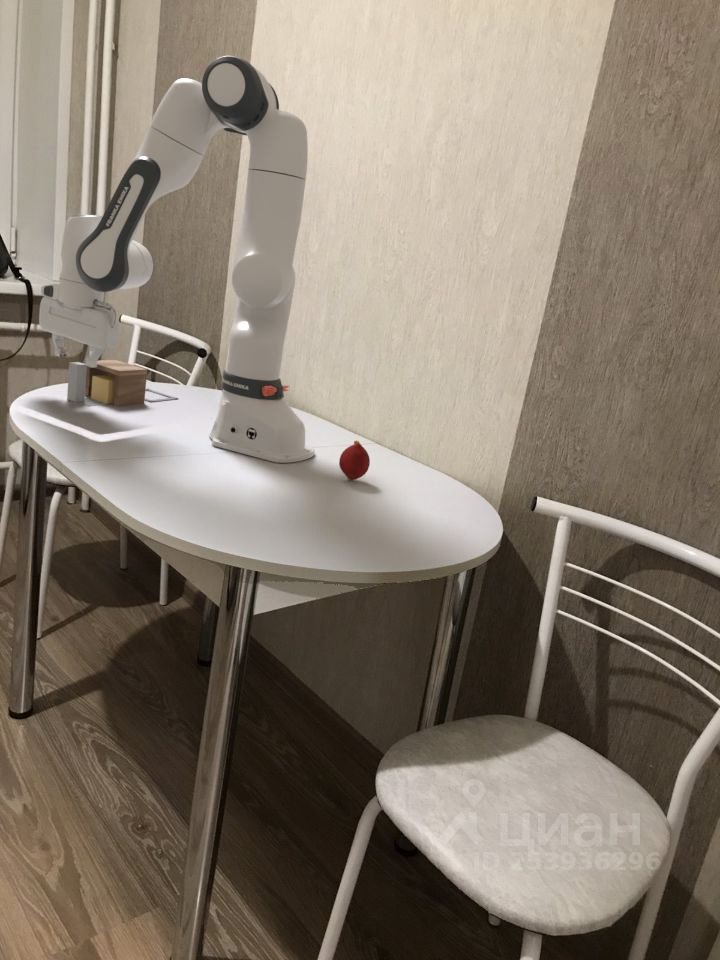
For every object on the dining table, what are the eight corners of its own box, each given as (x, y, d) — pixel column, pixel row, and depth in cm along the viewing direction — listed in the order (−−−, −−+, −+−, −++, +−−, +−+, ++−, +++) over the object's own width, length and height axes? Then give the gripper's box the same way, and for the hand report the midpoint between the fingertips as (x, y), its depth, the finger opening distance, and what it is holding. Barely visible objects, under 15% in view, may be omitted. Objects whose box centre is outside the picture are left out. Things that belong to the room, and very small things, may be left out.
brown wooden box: (143, 408, 167) (147, 369, 165) (116, 411, 161) (119, 371, 158) (112, 398, 172) (115, 359, 169) (84, 400, 165) (87, 361, 162)
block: (124, 401, 165) (126, 379, 164) (107, 403, 161) (108, 381, 159) (108, 396, 167) (110, 374, 166) (91, 398, 163) (92, 375, 162)
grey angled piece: (140, 404, 169) (144, 366, 166) (87, 411, 156) (89, 369, 153) (121, 398, 172) (124, 359, 169) (66, 403, 159) (69, 362, 156)
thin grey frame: (177, 404, 177) (178, 398, 176) (150, 407, 169) (150, 401, 169) (147, 394, 181) (147, 388, 181) (119, 397, 173) (119, 391, 173)
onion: (359, 476, 146) (366, 437, 144) (370, 486, 141) (378, 446, 139) (332, 474, 144) (339, 435, 141) (342, 484, 139) (349, 444, 136)
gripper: (128, 306, 151) (122, 372, 155) (60, 286, 160) (56, 350, 164) (104, 305, 145) (98, 374, 149) (35, 285, 154) (31, 350, 158)
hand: (75, 361), depth 157 cm, fingers open, 8 cm apart
